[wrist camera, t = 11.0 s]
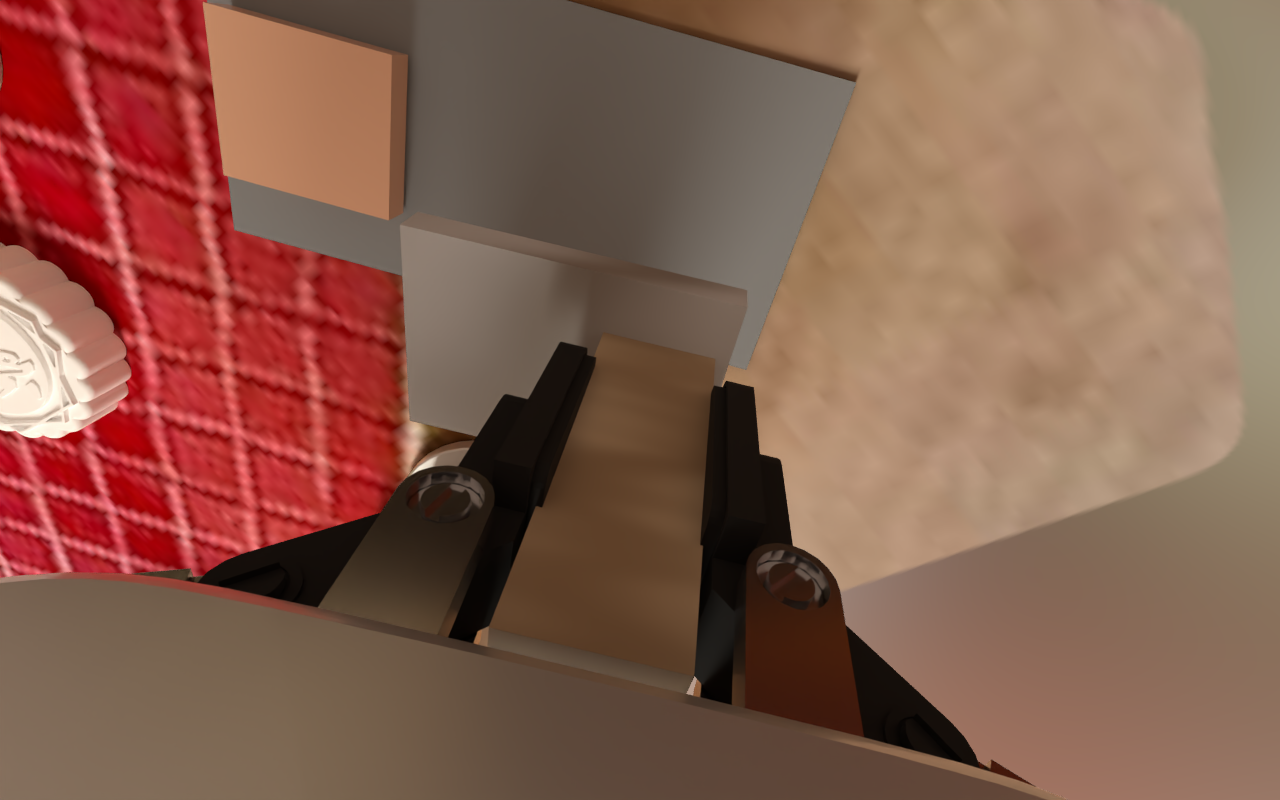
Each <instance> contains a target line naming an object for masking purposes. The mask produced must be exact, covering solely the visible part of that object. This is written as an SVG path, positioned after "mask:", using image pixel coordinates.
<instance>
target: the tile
mask: <svg viewBox="0 0 1280 800" xmlns="http://www.w3.org/2000/svg"><path fill="white" fill-rule="evenodd" d="M203 8H204V16H205V25H206V33H207V41H208V49H209V58H210V66H211V74H212V82H213V91H214V99H215V107H216V115H217V124H218V132H219V140H220V148H221V157H222V165H223V173H224V175H225V176H229V177H233V178H236V179H240V180H244V181H247V182H251V183H254V184H258V185H262V186H265V187H269V188H273V189H276V190H280V191H284V192H287V193H291V194H294V195H298V196H302V197H305V198H309V199H313V200H316V201H320V202H324V203H327V204H331V205H334V206H338V207H342V208H345V209H349V210H353V211H356V212H360V213H364V214H367V215H371V216H374V217H378V218H382V219H385V220H390V219H392V218H394V217H396V216H398V215H400V214H402V213H403V202H404V170H405V138H406V106H407V74H408V55H407V54H403V53H400V52H396V51H392V50H389V49H385V48H382V47H378V46H375V45H371V44H368V43H364V42H360V41H357V40H353V39H350V38H346V37H343V36H339V35H336V34H332V33H328V32H325V31H321V30H318V29H314V28H311V27H307V26H304V25H300V24H296V23H293V22H289V21H286V20H282V19H279V18H275V17H272V16H268V15H264V14H261V13H257V12H254V11H250V10H247V9H243V8H240V7H236V6H232V5H229V4H219V3H209V2H203Z"/></svg>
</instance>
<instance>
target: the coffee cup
mask: <svg viewBox="0 0 1280 800" xmlns="http://www.w3.org/2000/svg"><path fill="white" fill-rule="evenodd" d="M2 72H3V68H2V60H1V54H0V88H1V84H2Z"/></svg>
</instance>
